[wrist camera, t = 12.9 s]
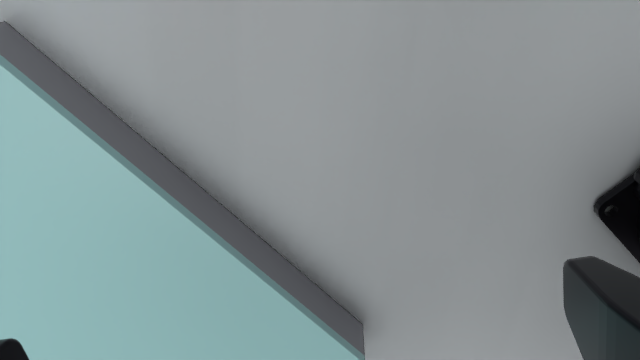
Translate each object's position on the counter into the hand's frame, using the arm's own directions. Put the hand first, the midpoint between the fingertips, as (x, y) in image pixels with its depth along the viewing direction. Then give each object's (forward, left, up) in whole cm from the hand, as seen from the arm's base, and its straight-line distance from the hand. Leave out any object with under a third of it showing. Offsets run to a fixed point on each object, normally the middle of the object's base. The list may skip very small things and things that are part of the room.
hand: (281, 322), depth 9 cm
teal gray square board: (0, +16, -13) cm, 20 cm away
